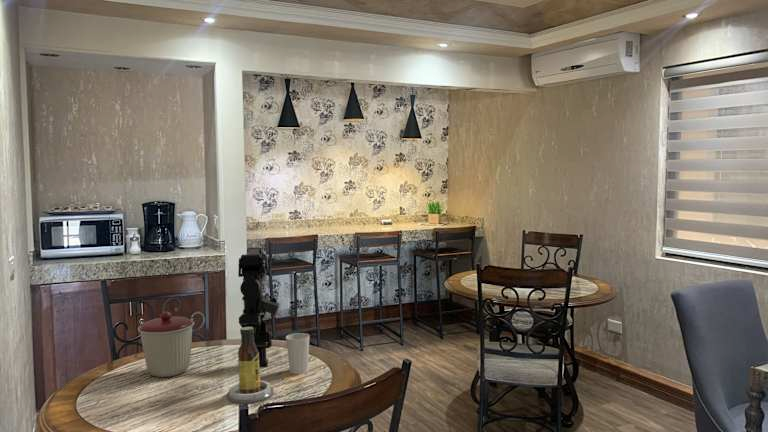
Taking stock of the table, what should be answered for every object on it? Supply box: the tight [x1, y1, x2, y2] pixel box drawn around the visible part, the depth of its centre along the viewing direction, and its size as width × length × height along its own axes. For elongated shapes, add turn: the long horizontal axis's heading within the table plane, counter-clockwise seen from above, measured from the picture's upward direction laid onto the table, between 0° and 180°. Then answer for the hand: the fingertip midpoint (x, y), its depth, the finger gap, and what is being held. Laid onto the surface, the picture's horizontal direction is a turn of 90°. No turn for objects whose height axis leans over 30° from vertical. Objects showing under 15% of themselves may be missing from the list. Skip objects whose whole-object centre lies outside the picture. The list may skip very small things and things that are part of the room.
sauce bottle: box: [237, 327, 261, 394], centre depth 182 cm, size 6×6×20 cm
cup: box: [285, 332, 310, 375], centre depth 202 cm, size 8×8×12 cm
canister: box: [137, 311, 195, 378], centre depth 203 cm, size 18×18×21 cm
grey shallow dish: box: [226, 379, 275, 405], centre depth 182 cm, size 14×14×2 cm
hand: (254, 340), depth 195 cm, fingers open, 9 cm apart
